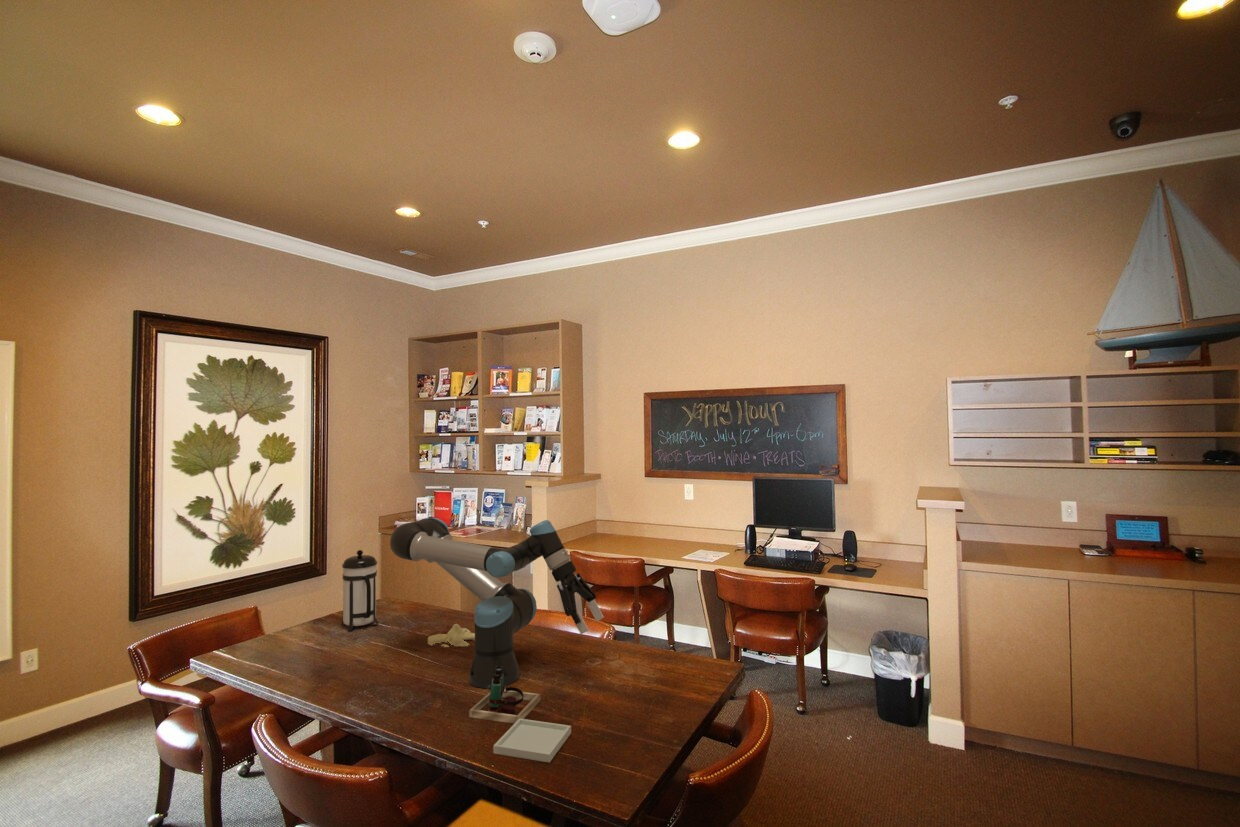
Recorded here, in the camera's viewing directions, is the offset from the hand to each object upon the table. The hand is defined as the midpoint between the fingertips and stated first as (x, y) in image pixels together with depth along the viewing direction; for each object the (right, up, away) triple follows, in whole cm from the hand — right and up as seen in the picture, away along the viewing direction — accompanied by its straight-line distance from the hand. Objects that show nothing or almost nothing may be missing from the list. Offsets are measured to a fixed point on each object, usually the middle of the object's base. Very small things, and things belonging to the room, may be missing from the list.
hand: (592, 625), depth 181 cm
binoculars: (-23, -14, -24) cm, 36 cm away
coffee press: (-94, -18, +47) cm, 107 cm away
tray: (-13, -13, -42) cm, 46 cm away
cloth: (-52, -17, +30) cm, 62 cm away
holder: (-23, -14, -24) cm, 36 cm away
